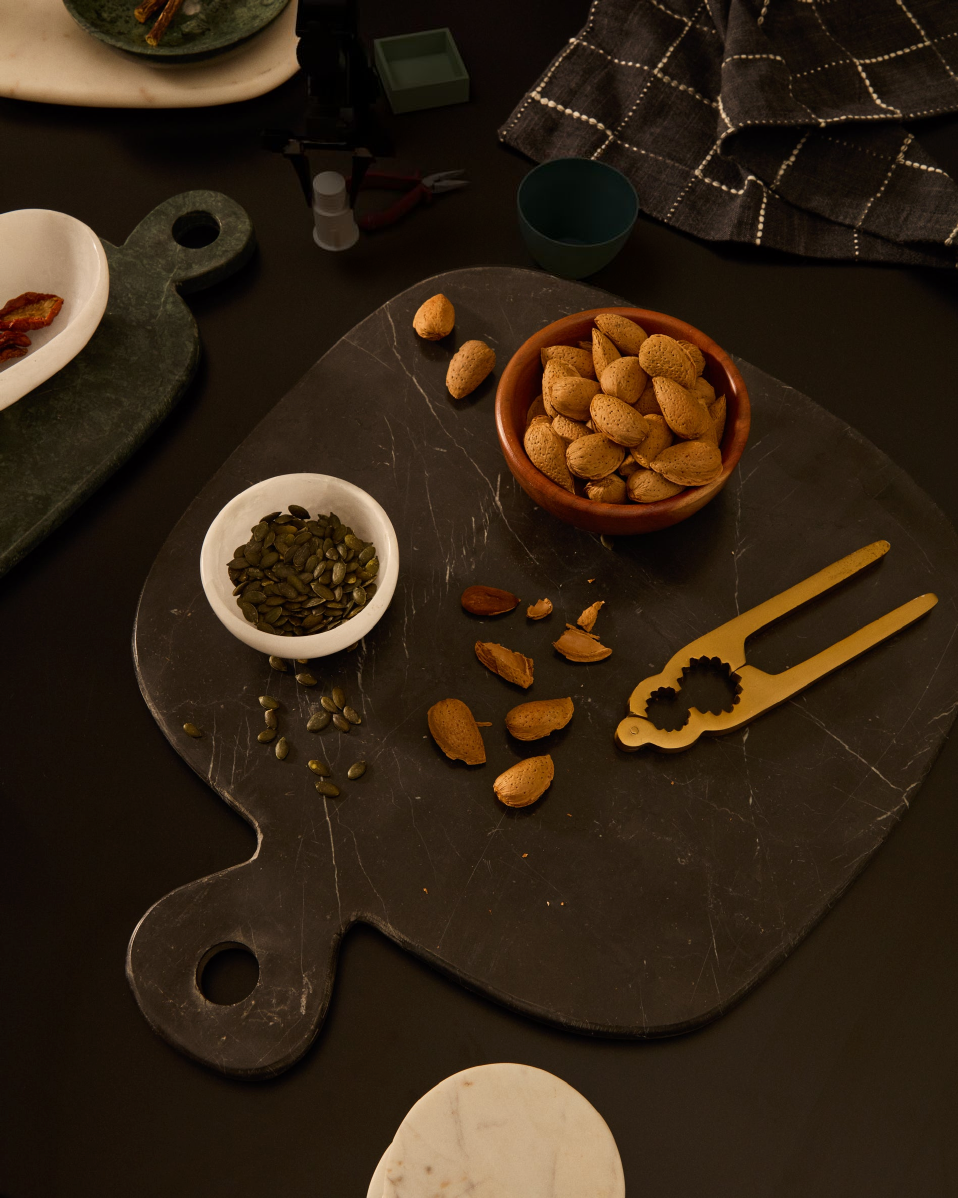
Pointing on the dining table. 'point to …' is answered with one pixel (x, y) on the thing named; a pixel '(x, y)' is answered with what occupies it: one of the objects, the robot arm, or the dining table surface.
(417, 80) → the bin
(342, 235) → the downlight
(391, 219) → the pliers
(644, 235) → the dining table surface
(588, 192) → the dark teal bowl
